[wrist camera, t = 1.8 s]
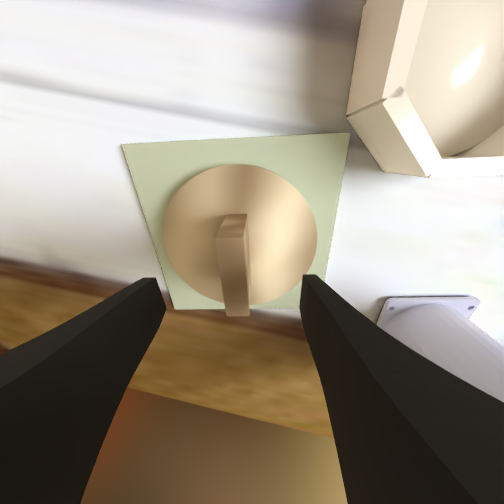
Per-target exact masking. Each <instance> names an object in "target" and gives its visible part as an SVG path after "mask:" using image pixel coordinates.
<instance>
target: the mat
mask: <svg viewBox="0 0 504 504" xmlns="http://www.w3.org/2000/svg"><path fill="white" fill-rule="evenodd" d="M350 134H351V132H348V133H328V134H309V135H289V136H270V137H251V138H231V139H212V140H193V141H173V142H154V143H134V144H121V145H122V148H123V151H124V154H125V157H126V160H127V163H128V166H129V170H130V173H131V176H132V179H133V182H134V185H135V188H136V191H137V194H138V197H139V200H140V203H141V206H142V209H143V213H144V216H145V219H146V222H147V225H148V228H149V231H150V234H151V237H152V240H153V243H154V246H155V249H156V252H157V256H158V259H159V262H160V265H161V268H162V271H163V274H164V277H165V280H166V283H167V286H168V289H169V292H170V295H171V299H172V302H173V305H174V308H175V309H225V304H224V303H222V302H218V301H215V300H212V299H210V298H208V297H206V296H204V295H202V294H200V293H198V292H197V291H195V290H194V289H193V288H191V287H190V286H189V285H188V284H187V283H186V282H184V281H183V279H182V278H181V277H180V276H179V275H178V274H177V272H176V271H175V269H174V268H173V266H172V264H171V262H170V260H169V258H168V256H167V253H166V250H165V245H164V239H163V224H164V219H165V214H166V212H167V209H168V206H169V204H170V202H171V201H172V199H173V197H174V196H175V194H176V193H177V192H178V191H179V189H180V188H181V187H182V186H183V185H184V184H185V183H187V182H188V181H189V180H190V179H192V178H193V177H195V176H196V175H198V174H200V173H202V172H204V171H207V170H209V169H212V168H216V167H219V166H223V165H231V164H247V165H253V166H258V167H261V168H264V169H267V170H270V171H272V172H274V173H276V174H278V175H279V176H281V177H282V178H284V179H285V180H287V181H288V182H289V183H290V184H291V185H293V186H294V187H295V188H296V189H297V190H298V191H299V192H300V194H301V195H302V196H303V197H304V199H305V200H306V202H307V203H308V205H309V207H310V209H311V211H312V214H313V216H314V219H315V223H316V227H317V248H316V253H315V257H314V259H313V262H312V265H311V266H310V268H309V270H308V272H307V273H306V274H316V275H317V276H318V277H319V278H321V279H322V280H323V281H324V280H325V275H326V269H327V263H328V258H329V252H330V247H331V241H332V235H333V230H334V224H335V219H336V213H337V207H338V202H339V196H340V191H341V185H342V179H343V174H344V168H345V162H346V157H347V151H348V146H349V140H350ZM301 286H302V280H301V281H300V282H299V283H298V284H297V285H296V286H295V287H294V288H293V289H291V290H290V291H289V292H287V293H286V294H284V295H282V296H280V297H278V298H276V299H274V300H271V301H268V302H265V303H261V304H255V305H250V309H261V308H299V304H300V295H301Z"/></svg>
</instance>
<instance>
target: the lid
mask: <svg viewBox="0 0 504 504" xmlns="http://www.w3.org/2000/svg"><path fill="white" fill-rule="evenodd" d="M163 239H164V245H165V250H166V253H167V256H168V258H169V260H170V262H171V264H172V266H173V268H174V269H175V271H176V272H177V274H178V275H179V276H180V277H181V278H182V279H183V281H184V282H186V283H187V284H188V285H189V286H190V287H191V288H193V289H194V290H195V291H197V292H198V293H200V294H202V295H204V296H206V297H208V298H210V299H212V300H215V301H218V302H222V303H224V304H225V311H226V316H249V310H250V305H255V304H261V303H265V302H268V301H271V300H274V299H276V298H278V297H280V296H282V295H284V294H286V293H287V292H289V291H290V290H291V289H293V288H294V287H295V286H296V285H297V284H298V283H299V282H300V281H301V280H302V277H303V274H306V273H307V272H308V270H309V268H310V266H311V265H312V262H313V259H314V257H315V253H316V248H317V227H316V223H315V219H314V216H313V214H312V211H311V209H310V207H309V205H308V203H307V202H306V200H305V199H304V197H303V196H302V195H301V194H300V192H299V191H298V190H297V189H296V188H295V187H294V186H293V185H291V184H290V183H289V182H288V181H287V180H285V179H284V178H282V177H281V176H279V175H278V174H276V173H274V172H272V171H270V170H267V169H264V168H261V167H258V166H253V165H247V164H231V165H223V166H219V167H216V168H212V169H209V170H207V171H204V172H202V173H200V174H198V175H196V176H195V177H193V178H192V179H190V180H189V181H188V182H187V183H185V184H184V185H183V186H182V187H181V188H180V189H179V191H178V192H177V193H176V194H175V196H174V197H173V199H172V201H171V202H170V204H169V206H168V209H167V212H166V214H165V219H164V224H163Z"/></svg>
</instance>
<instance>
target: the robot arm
mask: <svg viewBox="0 0 504 504" xmlns="http://www.w3.org/2000/svg"><path fill="white" fill-rule="evenodd" d="M479 303H480V300H479V299H477V298H476V297H415V298H389V299H387V300H386V302H385V304H384V306H383V309H382V311H381V314H380V316H379V319H378V321H377V324H374V323H373V322H372V321H370V320H369V319H368V318H367V317H365V316H364V315H363V314H361V313H360V312H359V311H357V310H356V309H355V308H354V307H353V306H351V305H350V304H349V303H348V302H347V301H345V300H344V299H343V298H342V297H341V296H340V295H338V294H337V293H336V292H335V291H334V290H333V289H332V288H331V287H329V286H328V285H327V284H326V283H325V282H324V281H323V280H322V279H321V278H319V277H318V276H317V275H316V274H303V277H302V286H301V295H300V304H299V308H300V313H301V318H302V323H303V327H304V330H305V333H306V337H307V340H308V343H309V346H310V349H311V352H312V355H313V358H314V361H315V364H316V367H317V370H318V373H319V377H320V380H321V384H322V387H323V391H324V395H325V400H326V404H327V408H328V413H329V417H330V421H331V426H332V430H333V435H334V439H335V444H336V448H337V453H338V458H339V463H340V468H341V473H342V477H343V482H344V487H345V492H346V497H347V502H348V504H504V347H503V346H502V345H501V344H499V343H498V342H497V341H495V340H494V339H493V338H492V337H490V336H489V335H488V334H486V333H485V332H484V331H483V330H481V329H480V328H479V327H477V326H476V325H475V324H474V323H472V322H471V321H470V320H468V319H469V317H470V316H471V314H472V313H473V312H474V310H475V309H476V308H477V306H478V305H479ZM165 311H166V305H165V302H164V300H163V297H162V294H161V291H160V288H159V286H158V283H157V280H156V278H142V279H140V280H138V281H136V282H135V283H133V284H131V285H129V286H127V287H126V288H124V289H122V290H121V291H119V292H117V293H116V294H114V295H112V296H110V297H109V298H107V299H105V300H104V301H102V302H100V303H99V304H97V305H95V306H94V307H92V308H90V309H88V310H86V311H85V312H83V313H81V314H79V315H77V316H76V317H74V318H72V319H70V320H69V321H67V322H65V323H63V324H61V325H59V326H58V327H56V328H54V329H52V330H50V331H48V332H46V333H44V334H42V335H40V336H38V337H36V338H34V339H32V340H30V341H28V342H26V343H24V344H22V345H20V346H18V347H15V348H13V349H11V350H9V351H7V352H4V353H2V354H0V504H80V502H81V500H82V497H83V494H84V491H85V488H86V485H87V483H88V480H89V477H90V475H91V472H92V469H93V467H94V465H95V462H96V459H97V457H98V454H99V451H100V449H101V446H102V444H103V441H104V439H105V437H106V434H107V431H108V429H109V427H110V424H111V422H112V420H113V417H114V415H115V412H116V410H117V408H118V406H119V404H120V401H121V399H122V397H123V395H124V392H125V390H126V388H127V386H128V384H129V382H130V380H131V378H132V376H133V374H134V372H135V371H136V369H137V367H138V365H139V363H140V362H141V360H142V358H143V356H144V354H145V353H146V351H147V349H148V347H149V345H150V344H151V342H152V340H153V338H154V336H155V334H156V333H157V331H158V329H159V327H160V324H161V322H162V319H163V317H164V314H165Z"/></svg>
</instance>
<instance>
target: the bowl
mask: <svg viewBox="0 0 504 504" xmlns="http://www.w3.org/2000/svg"><path fill="white" fill-rule="evenodd" d="M346 115H349V116H348V117H347V118H346V119H347V120H348V121H349V123H350V124H351V126H352V127H353V129H354V130H355V131H356V133H357V134H358V136H359V137H360V139H361V140H362V141H363V143H364V144H365V146H366V147H367V149H368V150H369V151H370V153H371V154H372V156H373V157H374V159H375V160H376V161H377V163H378V164H379V166H380V167H381V169H382V170H383V171H386V172H389V173H396V174H404V175H412V176H420V177H428V178H437V177H461V176H486V175H504V0H366V4H365V5H364V7H363V12H362V18H361V24H360V30H359V37H358V43H357V49H356V55H355V61H354V67H353V74H352V80H351V86H350V92H349V98H348V105H347V111H346ZM454 154H455V155H454ZM450 155H454V156H450Z"/></svg>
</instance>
